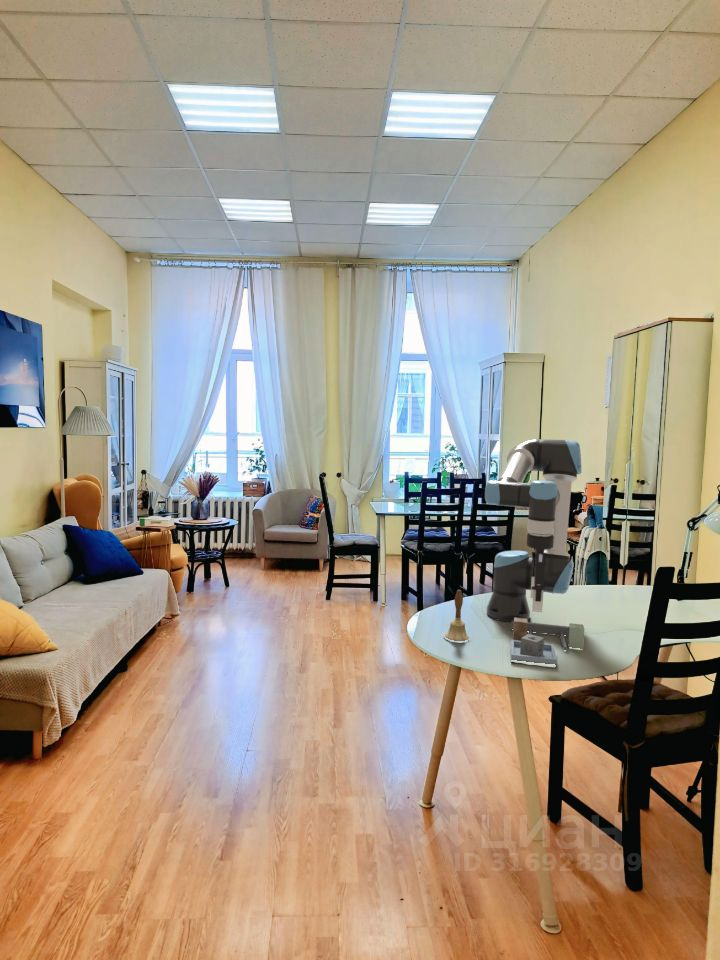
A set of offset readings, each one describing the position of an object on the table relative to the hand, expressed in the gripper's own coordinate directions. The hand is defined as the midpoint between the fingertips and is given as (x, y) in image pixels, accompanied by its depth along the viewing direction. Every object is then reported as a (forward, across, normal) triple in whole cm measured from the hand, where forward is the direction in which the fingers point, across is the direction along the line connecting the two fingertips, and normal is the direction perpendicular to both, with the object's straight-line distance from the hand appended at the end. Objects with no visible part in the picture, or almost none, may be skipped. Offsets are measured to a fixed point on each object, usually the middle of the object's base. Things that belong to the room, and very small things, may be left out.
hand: (535, 604), depth 186 cm
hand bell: (+16, +9, +23) cm, 30 cm away
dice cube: (+15, 0, 0) cm, 15 cm away
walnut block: (+16, +13, +4) cm, 21 cm away
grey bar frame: (+16, +16, -5) cm, 23 cm away
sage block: (+16, +13, -13) cm, 25 cm away
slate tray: (+16, 0, 0) cm, 16 cm away
